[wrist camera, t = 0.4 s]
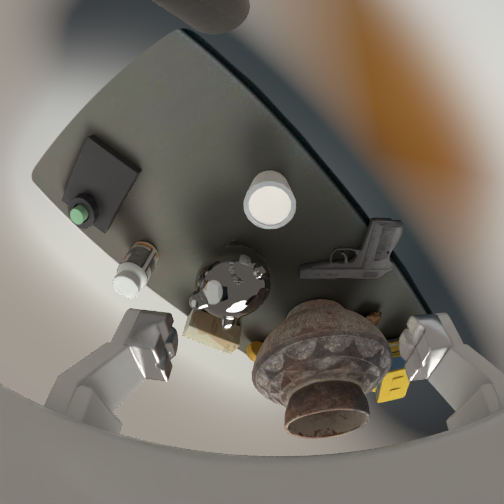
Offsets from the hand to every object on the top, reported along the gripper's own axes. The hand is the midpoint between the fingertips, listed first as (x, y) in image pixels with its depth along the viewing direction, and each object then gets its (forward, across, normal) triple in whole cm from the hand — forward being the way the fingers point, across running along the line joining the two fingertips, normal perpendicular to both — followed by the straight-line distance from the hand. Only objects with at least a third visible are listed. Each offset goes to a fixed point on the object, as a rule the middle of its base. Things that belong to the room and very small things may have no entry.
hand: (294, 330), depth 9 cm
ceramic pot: (+35, -10, +36) cm, 50 cm away
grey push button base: (+35, +30, +6) cm, 46 cm away
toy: (+35, -31, +52) cm, 70 cm away
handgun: (+34, -13, +12) cm, 38 cm away
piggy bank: (+35, +6, +22) cm, 41 cm away
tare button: (+31, +33, +10) cm, 47 cm away
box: (+32, +7, +40) cm, 52 cm away
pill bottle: (+35, +23, +20) cm, 46 cm away
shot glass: (+35, +1, +8) cm, 36 cm away
